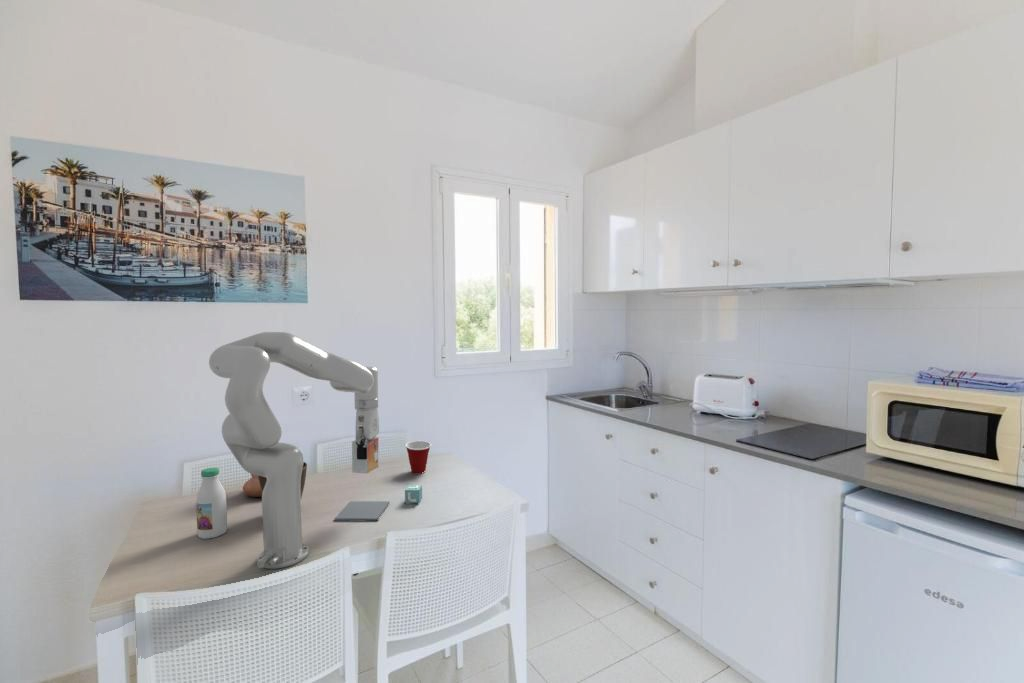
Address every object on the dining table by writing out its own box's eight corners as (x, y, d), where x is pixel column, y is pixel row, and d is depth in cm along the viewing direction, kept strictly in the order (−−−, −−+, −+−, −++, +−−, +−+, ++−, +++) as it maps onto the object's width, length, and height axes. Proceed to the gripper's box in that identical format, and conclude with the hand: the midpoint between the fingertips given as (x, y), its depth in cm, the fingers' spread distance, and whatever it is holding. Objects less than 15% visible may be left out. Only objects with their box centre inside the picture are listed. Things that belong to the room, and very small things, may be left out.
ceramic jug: (292, 494, 175) (291, 456, 174) (248, 504, 166) (247, 464, 165) (279, 482, 189) (278, 447, 188) (238, 491, 179) (237, 454, 179)
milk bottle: (222, 525, 149) (219, 463, 148) (231, 532, 144) (229, 468, 143) (193, 534, 143) (191, 470, 142) (202, 542, 138) (200, 475, 137)
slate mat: (377, 520, 152) (377, 518, 152) (334, 520, 152) (334, 518, 152) (389, 503, 166) (389, 501, 166) (350, 503, 166) (350, 501, 166)
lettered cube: (419, 504, 166) (418, 489, 165) (404, 504, 166) (404, 489, 165) (422, 498, 171) (421, 484, 170) (408, 498, 171) (408, 484, 171)
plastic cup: (414, 477, 192) (413, 449, 192) (401, 471, 200) (400, 443, 200) (436, 471, 200) (436, 444, 199) (423, 465, 207) (422, 439, 207)
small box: (367, 474, 153) (367, 442, 153) (351, 473, 154) (351, 441, 154) (379, 466, 161) (378, 436, 161) (364, 465, 162) (363, 435, 162)
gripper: (368, 408, 148) (369, 463, 149) (385, 399, 165) (386, 448, 166) (344, 408, 148) (345, 462, 149) (364, 399, 166) (365, 448, 166)
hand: (367, 455), depth 158 cm, fingers closed on small box, 8 cm apart
